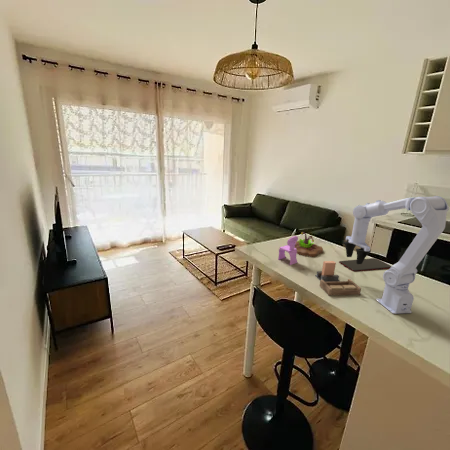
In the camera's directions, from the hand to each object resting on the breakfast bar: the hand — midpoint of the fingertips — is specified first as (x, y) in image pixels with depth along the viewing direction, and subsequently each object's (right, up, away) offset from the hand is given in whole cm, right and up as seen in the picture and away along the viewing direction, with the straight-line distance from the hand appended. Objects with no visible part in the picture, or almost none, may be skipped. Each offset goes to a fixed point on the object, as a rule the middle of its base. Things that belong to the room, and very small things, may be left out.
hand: (353, 260), depth 114 cm
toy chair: (-25, -4, +22) cm, 34 cm away
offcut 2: (-6, -13, -7) cm, 16 cm away
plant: (-10, 0, +40) cm, 41 cm away
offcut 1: (-12, -13, -8) cm, 19 cm away
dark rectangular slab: (+16, -6, +21) cm, 27 cm away
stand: (-11, -9, +4) cm, 15 cm away
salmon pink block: (-11, -9, +4) cm, 14 cm away
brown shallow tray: (-9, -12, -6) cm, 16 cm away
